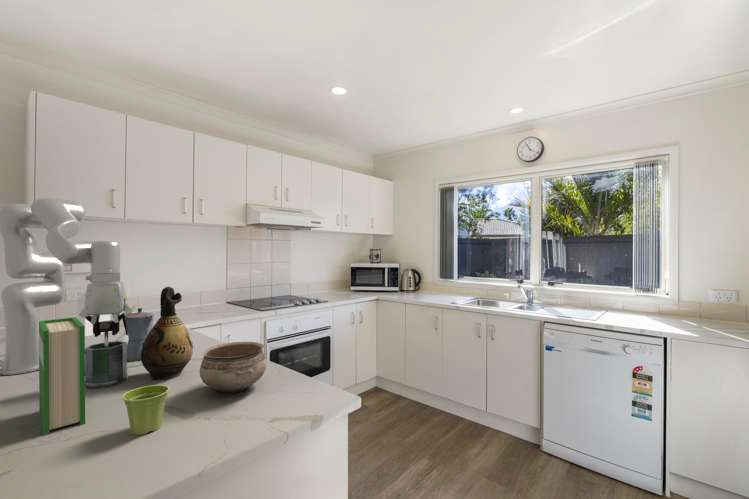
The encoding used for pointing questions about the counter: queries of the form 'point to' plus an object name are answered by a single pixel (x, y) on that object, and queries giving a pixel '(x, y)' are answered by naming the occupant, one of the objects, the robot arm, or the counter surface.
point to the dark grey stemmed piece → (105, 329)
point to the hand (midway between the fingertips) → (106, 334)
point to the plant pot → (145, 407)
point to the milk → (84, 321)
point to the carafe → (105, 365)
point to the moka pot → (137, 332)
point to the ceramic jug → (167, 341)
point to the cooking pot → (233, 366)
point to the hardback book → (61, 373)
